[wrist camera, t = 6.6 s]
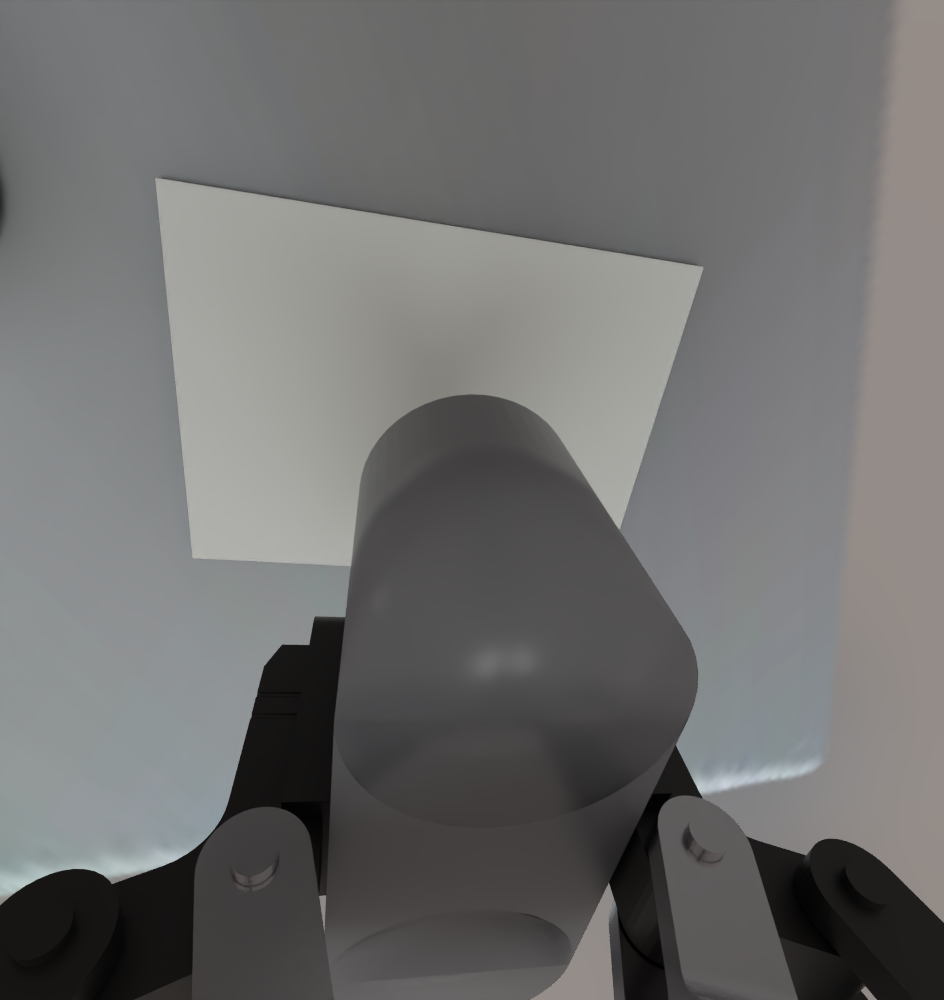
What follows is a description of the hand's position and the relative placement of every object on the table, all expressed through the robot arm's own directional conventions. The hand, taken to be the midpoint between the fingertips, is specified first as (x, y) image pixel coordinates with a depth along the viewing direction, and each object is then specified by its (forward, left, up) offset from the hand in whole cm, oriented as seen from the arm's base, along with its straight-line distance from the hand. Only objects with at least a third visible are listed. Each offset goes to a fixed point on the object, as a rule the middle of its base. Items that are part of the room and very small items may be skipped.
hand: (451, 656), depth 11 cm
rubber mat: (+1, +1, -16) cm, 16 cm away
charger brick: (0, 0, -1) cm, 1 cm away
